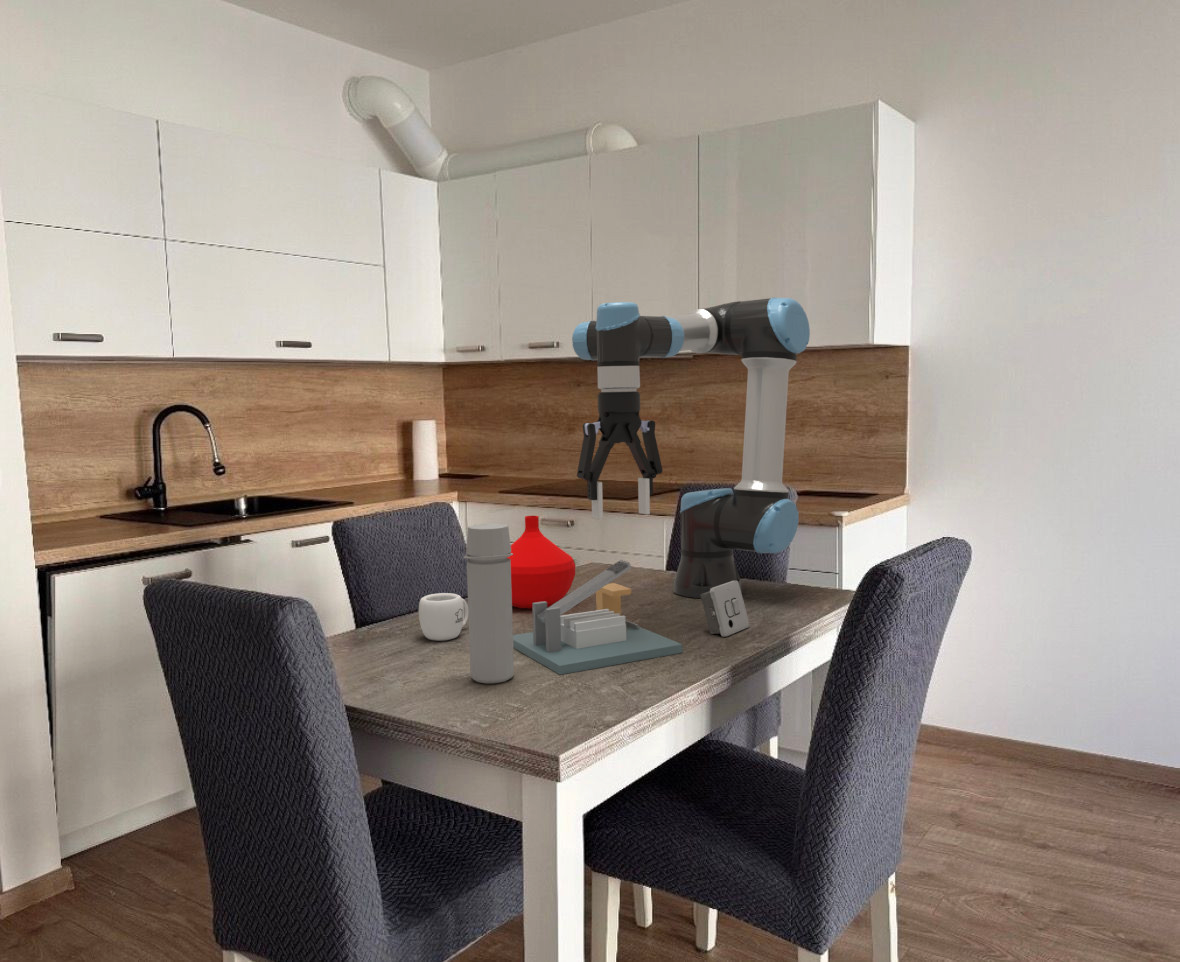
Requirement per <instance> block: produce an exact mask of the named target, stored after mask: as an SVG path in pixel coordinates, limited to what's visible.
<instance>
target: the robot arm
mask: <svg viewBox="0 0 1180 962" xmlns="http://www.w3.org/2000/svg"><path fill="white" fill-rule="evenodd" d="M810 335H811V333H810V323H809V319H808V317H807V314H806V312H805V310H804V308H803V306H802V305H801V304H800V303H799V301H798V300H796V299H793V298H792V297H770V298H762V299H753V300H743V301H741V300H740V301H733V302H727V303H722V304H719V305H715V306H710V307H709V306H708V307H705V308H697V309H693V310H691V311H689V312H688V313H687V314H677V315H661V316H651V315H647V316H646V315H641V314H640V311H639V306H638V304H637V303H635V302H631V301H629V302H628V301H616V302H604V303H600V305H598V306H597V309H596V319H595V320H589V321H585V322H581V323H578V325H576V327H575V328H574V330H573V332H572V336H571V337H572V339H571V341H572V342H571V343H572V349H573V351H574V353H575V354H576V356H577V357H579V358H580V359H582V360H584V361H585V360H586V361H590V360H591V361H597V364H596V365H597V368H596V369H597V389H599V390H600V392H599V393H598V394H597V411H598V419H597V421H596V422H589V423H588V422H585V423H583V425H582V432H583V439H582V445H581V450H580V455H579V461H578V467H577V470H576V471H577V472H576V477H577V478H578V479H581V480H583V481H585V482H586V483H587V487H586V488H587V490H586V491H587V499H588V500H590V501H591V517H592V519H597V520H603V519H604V510H603V509H604V505H603V503H604V501H603V482H602V481H599V479H600V476H601V475H602V471H603V469H604V466H605V464H606V462H607V459H608V457H609V454H610V453H611V449H613V448H614V446H615V444H620V443H625V445H626V446H627V447H628V448H629V450H630V453H631V455H632V457H633V459H634V462H635V463H636V466H637V468H638V469H639V472H640V474H641V476H642V477H638V478H637V484H638V488H637V491H638V492H637V493H638V494H637V495H638V496H637V497H638V514H642V515H645V516H646V515H651V511H650V510H651V507H650V506H651V501H650V496H653V494H654V479H655V478H656V477H657V475H661V474H662V473H663V467H662V461H661V457H660V452H659V448H658V442H657V439H656V422H655V420H646V419H645V420H642V419H641V417H640V411H641V393H640V392H639V391H638V390H637V389H639V388H640V387H641V378H640V377H641V374H640V373H641V372H640V359H645V358H646V359H648V358H651V359H652V358H658V359H665V358H671V357H674V356H675V355H677V354H679V352H682V351H683V352H684V351H691V352H692V353H695V354H718V355H734V356H741V362H742V364H743V365H744V366H745V367H746V368H747V379H746V381H747V382H746V383H747V384H746V385H747V386H746V397H745V398H746V401H745V414H744V418H745V419H744V433H743V434H744V435H743V448H742V449H743V450H742V466H741V467H742V468H741V469H742V470H741V479H740V482H739V483H737V484H736V485H735V486H734V487H733V489H732V488H731V487H730V488H729V487H728V488H727V487H726V488H725V487H722V488H715V489H705V490H704V489H703V490H698V491H691V492H686V493H684V494H683V495H682V497H681V499H680V511H679V514H680V515H679V516H680V552H681V553H680V555H681V556H680V561H679V564H678V568H677V571H676V573H675V578H674V581H673V592H674V593H675V594H676V595H679V596H681V597H682V596H683V597H686V598H687V597H688V598H694V599H695V598H697V599H701V596H700V594H703V593H706V592H709V591H710V589H711V588H713V587H716V586H719V585H722V584H725V583H728V582H731V581H738V583H739V586H740V590H741V591H742V581H741V578H740V574H739V571H738V569H737V565H736V563H735V559H734V558H735V557H734V550H738V551H739V550H740V551H747V552H756V553H758V554H778V553H781V552H783V551H785V550H786V549H787V548H788V547H789V546H790V544H791V543H792V542H793V540H794V538H795V536H796V534H797V531H798V527H799V518H800V517H799V511H798V510H797V508H798V507H797V505H796V503H795V502H794V501H792V500H791V499H789V496H790V495H789V493H790V492H789V489H788V488H787V487H786V486H785V485H784V484H783V472H784V458H785V457H784V454H785V441H786V440H785V437H786V422H787V407H788V406H787V404H788V391H789V390H788V387H789V372H790V370H791V369H792V368H793V367H794V366H795V365H796V364H797V361H798V360H797V359H798V354H800V353H802V352H804V351H805V350H806V348H807V347H808V344H809V341H810ZM639 430H640V431H641V432H642V433H641V434H642V439H643V440H642V441H643V444H644V449H643V446H642V444H641V443H642V442H641V439H640V437H639V435H638V431H639ZM599 431H600V433H601V437H600V439H599V442H598V446H597V450H596V452H595V454H594V451H595V446H596V440H597V435H598V433H599ZM644 450H645V451H644Z"/></svg>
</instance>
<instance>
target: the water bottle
mask: <svg viewBox="0 0 1180 962" xmlns="http://www.w3.org/2000/svg"><path fill="white" fill-rule="evenodd" d="M466 539H467V540H466V555H464V556H463V559H465V560H467V561H466V579H467V580H466V581H467V582H466V583H467V605H468V639H469V640H468V641H469V642H468V643H469V644H468V645H469V666H470V667H469V668H470V669H469V670H470V678H472V680H474V681H475V682H477V683H480V684H486V685H487V684H500V683H505V682H506V681H509V680H511V679H512V678H513V676H514V674H515V673H514V672H515V667H514V666H515V662H514V661H515V660H514V659H515V658H514V657H515V656H514V648H513V635H514V632H513V631H514V626H513V606H512V591H511V559H509V558H507V557H510V556H511V555H513V553H511V545H512V543H511V538H510V529H509V524H505V523H498V522H487V523H478V524H477V523H475V524H471V525H469V526H468V527H467V538H466Z"/></svg>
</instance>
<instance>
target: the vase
mask: <svg viewBox="0 0 1180 962" xmlns="http://www.w3.org/2000/svg"><path fill="white" fill-rule="evenodd" d="M539 519H540V518H539V515H526V516H524V531H523V533H522V534H521V535H520V537H518V538H517V539H516V540H515V541H514V542H512V543H511V553H513V555H511V556H510V557H507V558H509V559H511V591H512V607H514V608H518V609H526V608H527V609H526V610H528V609H529V610H530V609H532V610H533V607H532V603H536V602H543V601H545V602H547V608H548V607H550V606H551V605H553V604H554V603H556V602H558V601H559V600H561V599H562V598H564V597H565V596H567V595H566V594H568V592H569V591H570V589H571V587H572V584H573V582H574V580H575V577H576V563H575V561H574V558H573V557H572V556H571V555H570V554H569V553H567V552H566V551H565V550H563V549H562V548H561V547H559V546H558V545H556V544H555V543H554V542H552V540H550V539H549V538H547V537H546V536H545V535H544V534H543V533H542V531H541V530H540V526H539V525H540V523H539Z"/></svg>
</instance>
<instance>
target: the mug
mask: <svg viewBox="0 0 1180 962" xmlns="http://www.w3.org/2000/svg"><path fill="white" fill-rule="evenodd" d="M418 619H419V620H418V621H419V626H420V628H421V631H422V633H423V635H424V637H425V638H426V639H428V640H430V641H438V642H440V641H449V640H452V639H455V638H457V637H458V636H459V635H460V633H462V629H463V626H465V625H466V624H467V622H468V620H469V616H468V602H467V601H466V599H464V598H462V597H461V595H459V594H456V593H453V592H452V593H450V592H441V593H440V592H438V593H431V594H427V595H424V596H423V597H421V598H420V600H419V603H418Z"/></svg>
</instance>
